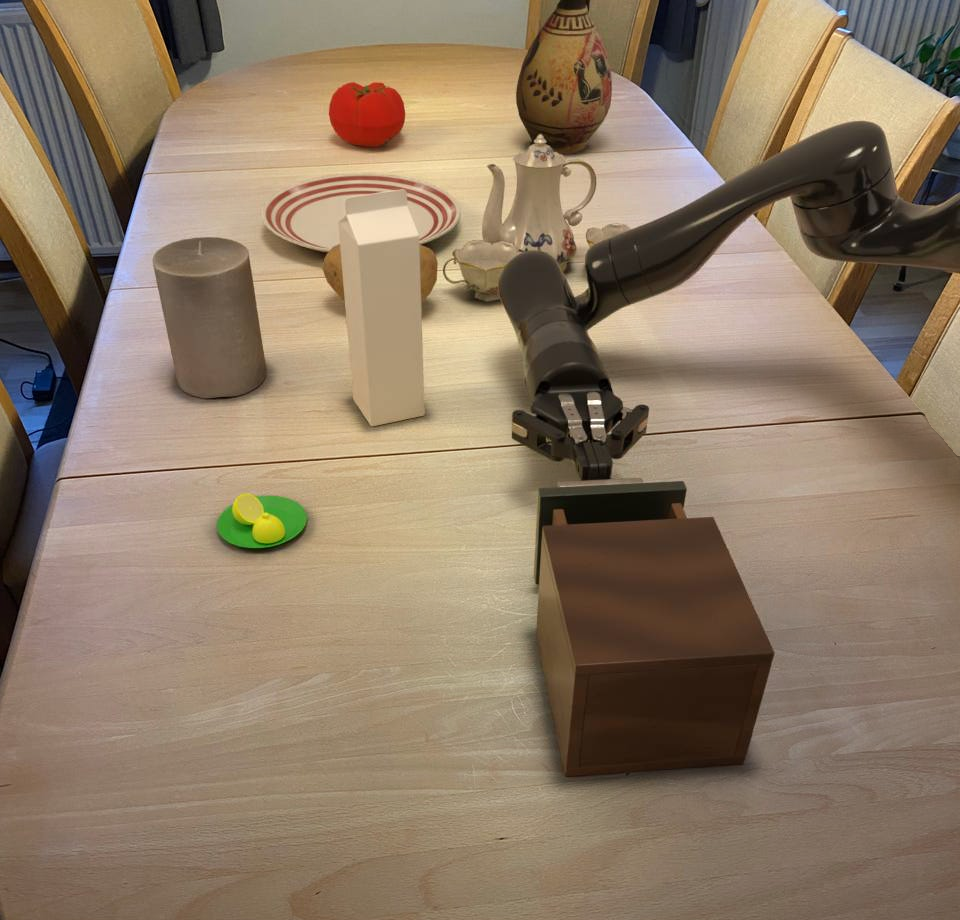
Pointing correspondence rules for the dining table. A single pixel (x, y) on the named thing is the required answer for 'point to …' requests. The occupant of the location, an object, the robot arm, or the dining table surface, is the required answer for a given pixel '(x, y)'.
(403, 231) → the milk
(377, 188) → the dinner plate
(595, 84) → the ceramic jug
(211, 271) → the pillar candle
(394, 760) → the dining table surface
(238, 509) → the lemon halves on plate
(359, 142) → the tomato
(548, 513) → the drawer
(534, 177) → the chinaware
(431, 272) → the potato
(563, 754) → the cabinet
